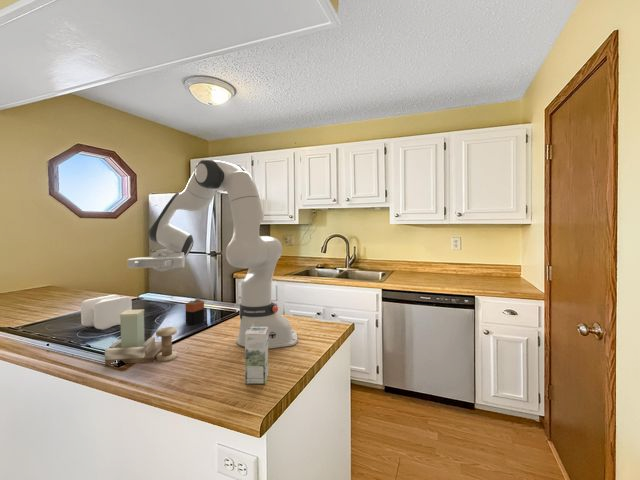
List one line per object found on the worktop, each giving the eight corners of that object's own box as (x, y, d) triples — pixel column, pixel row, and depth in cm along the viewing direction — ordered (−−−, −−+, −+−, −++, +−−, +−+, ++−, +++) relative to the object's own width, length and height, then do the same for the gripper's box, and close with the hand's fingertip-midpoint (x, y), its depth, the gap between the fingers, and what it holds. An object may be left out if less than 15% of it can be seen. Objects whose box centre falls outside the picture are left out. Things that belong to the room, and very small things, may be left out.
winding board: (168, 345, 109) (167, 333, 109) (153, 361, 97) (153, 348, 96) (125, 347, 107) (125, 334, 107) (105, 364, 95) (104, 350, 94)
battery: (204, 320, 137) (204, 298, 136) (192, 325, 131) (192, 302, 130) (197, 319, 139) (197, 297, 138) (185, 323, 132) (184, 301, 132)
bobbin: (179, 352, 103) (179, 326, 103) (173, 360, 97) (173, 333, 97) (160, 353, 102) (160, 327, 102) (153, 361, 97) (152, 334, 96)
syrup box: (268, 374, 89) (268, 325, 89) (265, 385, 84) (265, 333, 83) (248, 374, 89) (248, 325, 88) (244, 385, 83) (244, 333, 82)
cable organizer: (94, 332, 121) (92, 303, 121) (80, 328, 126) (79, 300, 126) (132, 322, 134) (131, 295, 134) (119, 318, 140) (118, 293, 139)
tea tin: (145, 347, 104) (144, 309, 103) (138, 353, 99) (137, 313, 98) (128, 347, 103) (127, 309, 103) (120, 354, 98) (119, 314, 97)
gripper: (135, 253, 126) (118, 257, 112) (188, 252, 129) (177, 255, 115) (136, 268, 126) (119, 274, 113) (188, 266, 129) (178, 271, 116)
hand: (149, 264), depth 114 cm, fingers open, 8 cm apart
